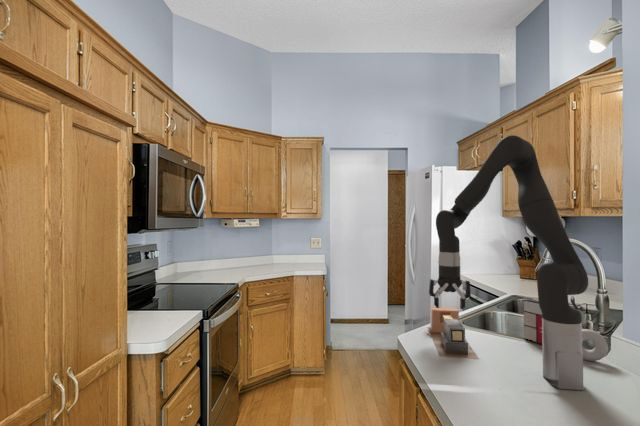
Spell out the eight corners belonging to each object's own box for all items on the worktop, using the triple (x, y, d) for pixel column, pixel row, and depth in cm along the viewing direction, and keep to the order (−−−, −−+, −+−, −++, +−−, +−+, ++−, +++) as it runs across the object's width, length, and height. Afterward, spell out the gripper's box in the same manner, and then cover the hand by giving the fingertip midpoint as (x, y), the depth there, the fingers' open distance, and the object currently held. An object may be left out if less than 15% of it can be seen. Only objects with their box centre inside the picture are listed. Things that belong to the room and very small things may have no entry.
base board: (479, 362, 115) (479, 358, 115) (439, 360, 117) (439, 356, 117) (458, 331, 147) (458, 328, 147) (427, 330, 149) (427, 327, 149)
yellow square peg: (462, 340, 118) (462, 331, 118) (452, 340, 119) (452, 331, 119) (450, 323, 139) (450, 315, 139) (442, 323, 139) (442, 315, 139)
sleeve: (468, 355, 118) (468, 328, 118) (446, 353, 119) (446, 327, 119) (461, 342, 130) (460, 319, 130) (440, 341, 131) (440, 318, 131)
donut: (569, 359, 118) (569, 328, 118) (569, 355, 121) (569, 325, 121) (609, 365, 112) (608, 333, 112) (607, 362, 115) (607, 330, 115)
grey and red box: (522, 339, 138) (521, 299, 138) (530, 337, 139) (529, 298, 140) (551, 348, 128) (550, 305, 128) (559, 346, 129) (558, 304, 130)
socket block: (458, 333, 141) (458, 311, 141) (432, 332, 143) (431, 310, 143) (456, 329, 146) (456, 308, 146) (430, 328, 147) (430, 307, 148)
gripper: (430, 265, 131) (430, 309, 131) (472, 266, 129) (472, 311, 128) (428, 262, 139) (428, 305, 138) (467, 263, 136) (467, 306, 136)
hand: (449, 308), depth 133 cm, fingers open, 8 cm apart
